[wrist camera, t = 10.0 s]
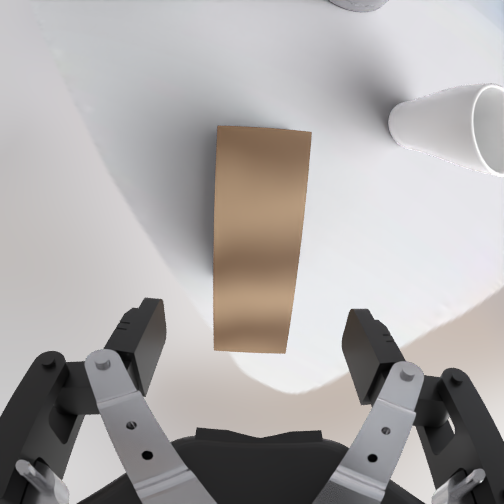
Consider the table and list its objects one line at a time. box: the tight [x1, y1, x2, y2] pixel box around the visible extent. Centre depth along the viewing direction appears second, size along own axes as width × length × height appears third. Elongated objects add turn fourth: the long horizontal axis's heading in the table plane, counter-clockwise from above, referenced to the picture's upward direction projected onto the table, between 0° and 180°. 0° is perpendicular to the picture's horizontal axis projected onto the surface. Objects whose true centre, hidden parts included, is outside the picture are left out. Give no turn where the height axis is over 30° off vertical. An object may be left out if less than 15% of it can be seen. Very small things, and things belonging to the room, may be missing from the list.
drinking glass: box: [388, 83, 504, 177], centre depth 20 cm, size 7×7×15 cm
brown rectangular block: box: [213, 126, 312, 354], centre depth 22 cm, size 16×6×5 cm, turn 177°
